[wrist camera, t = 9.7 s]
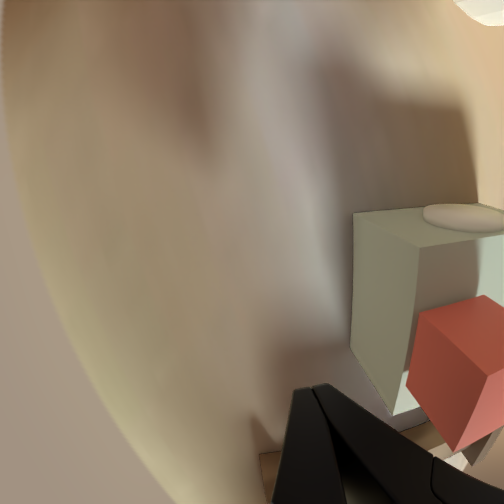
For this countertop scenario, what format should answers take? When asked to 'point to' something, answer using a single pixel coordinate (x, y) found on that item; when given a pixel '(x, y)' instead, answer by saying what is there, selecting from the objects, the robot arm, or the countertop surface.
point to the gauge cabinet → (417, 281)
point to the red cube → (460, 369)
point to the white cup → (484, 11)
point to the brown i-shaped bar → (420, 435)
